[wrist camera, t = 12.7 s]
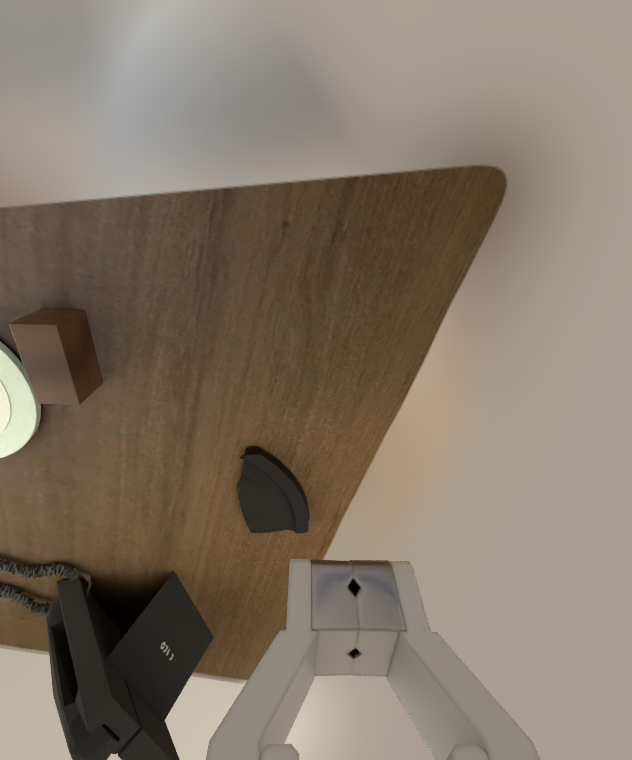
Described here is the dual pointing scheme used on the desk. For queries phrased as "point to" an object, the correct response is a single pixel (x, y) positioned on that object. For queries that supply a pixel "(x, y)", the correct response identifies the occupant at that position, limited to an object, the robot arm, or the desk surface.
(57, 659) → the office phone
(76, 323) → the walnut block
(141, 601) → the desk surface
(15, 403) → the plate
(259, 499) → the fan shaped piece
